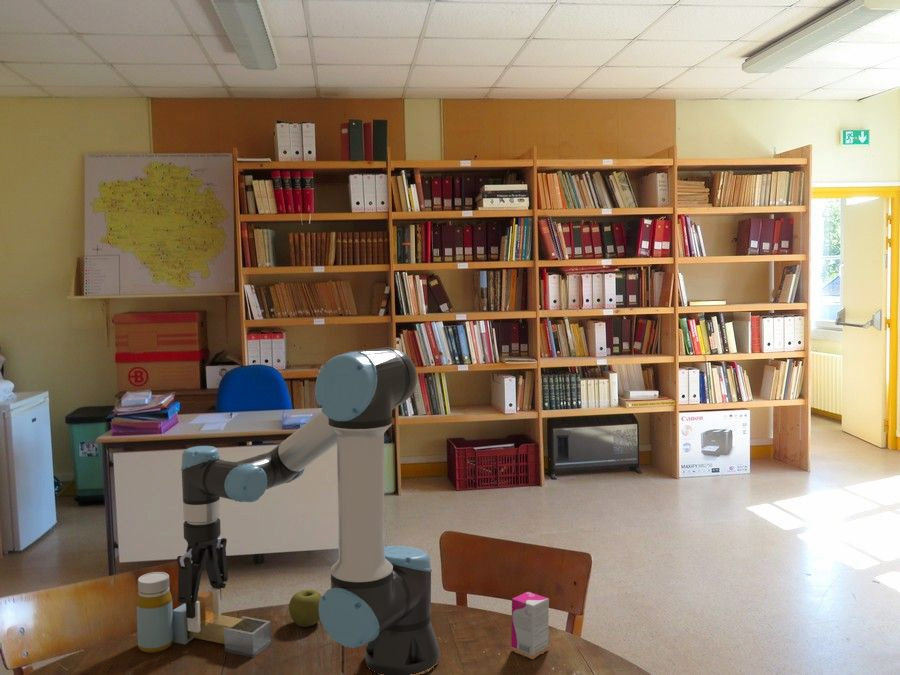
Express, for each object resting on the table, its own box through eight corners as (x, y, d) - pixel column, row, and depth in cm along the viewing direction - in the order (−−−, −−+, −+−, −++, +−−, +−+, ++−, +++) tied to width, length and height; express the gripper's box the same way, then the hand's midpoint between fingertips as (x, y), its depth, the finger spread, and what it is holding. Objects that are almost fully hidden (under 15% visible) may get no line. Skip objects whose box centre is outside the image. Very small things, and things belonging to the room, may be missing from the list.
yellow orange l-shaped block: (243, 637, 168) (242, 596, 168) (232, 645, 165) (231, 604, 164) (194, 627, 173) (192, 587, 172) (181, 635, 169) (180, 594, 169)
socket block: (205, 630, 174) (205, 599, 173) (184, 644, 167) (183, 612, 167) (194, 628, 175) (193, 597, 174) (173, 641, 168) (172, 610, 168)
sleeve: (270, 644, 168) (270, 621, 167) (253, 657, 162) (252, 634, 161) (243, 638, 170) (242, 616, 170) (224, 651, 164) (224, 628, 164)
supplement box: (549, 650, 165) (550, 597, 164) (532, 660, 161) (532, 606, 160) (527, 641, 169) (527, 590, 168) (509, 651, 164) (510, 598, 163)
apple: (322, 631, 173) (321, 600, 173) (285, 631, 173) (285, 600, 173) (327, 616, 181) (327, 586, 180) (293, 616, 181) (292, 586, 180)
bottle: (161, 655, 162) (159, 585, 161) (131, 652, 164) (128, 582, 163) (179, 640, 169) (177, 572, 168) (150, 637, 171) (148, 570, 169)
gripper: (215, 504, 178) (218, 603, 180) (156, 531, 160) (159, 640, 162) (243, 508, 175) (245, 608, 177) (186, 535, 157) (189, 647, 159)
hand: (204, 623), depth 169 cm, fingers open, 6 cm apart
